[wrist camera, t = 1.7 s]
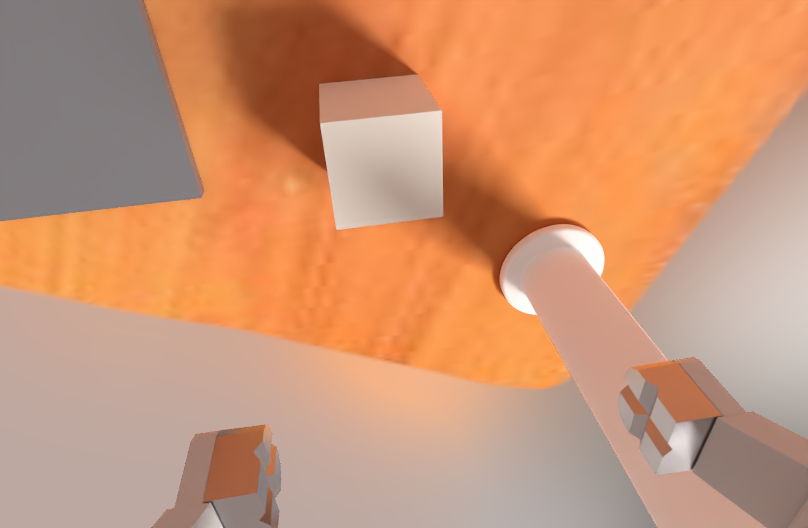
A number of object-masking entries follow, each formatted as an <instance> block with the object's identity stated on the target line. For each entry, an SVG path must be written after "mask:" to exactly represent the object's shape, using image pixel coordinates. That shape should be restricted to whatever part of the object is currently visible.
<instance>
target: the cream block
mask: <svg viewBox="0 0 808 528" xmlns="http://www.w3.org/2000/svg"><path fill="white" fill-rule="evenodd" d="M319 106H320V127H321V134H322V140H323V146H324V153H325V159H326V165H327V172H328V178H329V185H330V191H331V197H332V204H333V210H334V216H335V223H336V229H337V230H339V229H347V228H355V227H363V226H372V225H380V224H388V223H396V222H404V221H412V220H420V219H428V218H436V217H443V156H442V110H441V108H440V107H439V105H438V104H437V102H436V101H435V99H434V98H433V96H432V95H431V93H430V92H429V90H428V89H427V87H426V86H425V85H424V83H423V82H422V80H421V79H420V77H419V76H418V74H415V75H405V76H394V77H384V78H374V79H364V80H353V81H343V82H333V83H323V84H319Z"/></svg>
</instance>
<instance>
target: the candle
mask: <svg viewBox="0 0 808 528" xmlns="http://www.w3.org/2000/svg"><path fill="white" fill-rule="evenodd" d="M603 267H604V252H603V249H602V247H601V245H600V243H599V241H598V240H597V239H596V238H595V237H594V236H593V234H591V233H590V232H589V231H587V230H586V229H584V228H582V227H579V226H575V225H570V224H557V225H551V226H547V227H544V228H541V229H538V230H536V231H534V232H532V233H530V234H529V235H527V236H526V237H524V238H523V239H522V240H520V241H519V242H518V243H517V244H516V245H515V246H514V247H513V248H512V249H511V251H510V252H509V253H508V255H507V256H506V258H505V260H504V262H503V264H502V267H501V271H500V286H501V290H502V292H503V294H504V296H505V298H506V300H507V301H508V302H509V303H510V304H511V305H512V306H513V307H514V308H516V309H517V310H519V311H522V312H524V313H528V314H534V315H537V316H538V317H539V319H540V321H541V323H542V325H543V326H544V328H545V330H546V332H547V333H548V335H549V337H550V339H551V340H552V342H553V344H554V346H555V348H556V349H557V351H558V353H559V355H560V356H561V358H562V360H563V362H564V363H565V365H566V367H567V369H568V371H569V372H570V374H571V376H572V378H573V379H574V381H575V383H576V385H577V386H578V388H579V390H580V392H581V393H582V395H583V397H584V399H585V401H586V402H587V404H588V406H589V408H590V409H591V411H592V413H593V415H594V417H595V418H596V420H597V422H598V424H599V425H600V427H601V429H602V431H603V432H604V434H605V436H606V438H607V440H608V441H609V443H610V445H611V446H612V448H613V450H614V452H615V454H616V456H617V457H618V459H619V461H620V462H621V464H622V466H623V468H624V470H625V471H626V473H627V475H628V477H629V479H630V480H631V482H632V484H633V486H634V487H635V489H636V491H637V493H638V494H639V496H640V498H641V500H642V501H643V503H644V505H645V507H646V509H647V510H648V512H649V514H650V516H651V517H652V519H653V521H654V523H655V525H656V526H657V528H766V527H765V526H764V525H762V524H761V523H759V522H758V521H757V520H755V519H754V518H753V517H751V516H750V515H749V514H747V513H746V512H745V511H743V510H742V509H741V508H739V507H738V506H737V505H735V504H734V503H733V502H731V501H730V500H729V499H727V498H726V497H725V496H723V495H722V494H721V493H719V492H718V491H717V490H715V489H714V488H713V487H711V486H710V485H709V484H707V483H706V482H705V481H703V480H702V479H701V478H699V477H698V476H697V475H695V474H694V473H693V472H692V471H693V470H689V471H682V472H676V473H669V474H662V475H655V474H654V472H653V470H652V469H651V467H650V466H649V464H648V463H647V461H646V459H645V458H644V456H643V455H642V453H641V451H640V450H639V447H640V439H638V438H637V437H635V436H634V435H632V434H630V433H629V432H628V430H627V429H626V427H625V425H624V424H623V422H622V419H621V416H620V414H619V407H618V399H619V394H620V392H621V391H622V390H623V389H624V388H625V387H626V386H627V385H628V384H627V383H626V381H625V380H624V376H625V373H626V371H627V370H628V369H629V368H630V367H634V366H640V365H646V364H652V363H658V362H663V361H668V360H667V359H666V357H665V356H664V355H663V354H662V352H661V351H660V350H659V349H658V347H657V346H656V345H655V344H654V343H653V341H652V340H651V339H650V338H649V336H648V335H647V334H646V333H645V331H644V330H643V329H642V328H641V326H640V325H639V324H638V323H637V321H636V320H635V319H634V318H633V316H632V315H631V314H630V313H629V311H628V310H627V309H626V308H625V306H624V305H623V304H622V303H621V301H620V300H619V299H618V298H617V296H616V295H615V294H614V293H613V292H612V290H611V289H610V288H609V287H608V285H607V284H606V283H605V282H604V280H603V279H602V278H601V277H600V276H601V274H602V271H603Z"/></svg>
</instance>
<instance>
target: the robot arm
mask: <svg viewBox="0 0 808 528" xmlns="http://www.w3.org/2000/svg"><path fill="white" fill-rule="evenodd" d="M624 380H625V381H626V383H627V384H628V385H627V386H626V387H625V388H624V389H623V390H622V391H621V392H620V394H619V399H618V407H619V414H620V416H621V419H622V422H623V424H624V425H625V427H626V429H627V430H628V432H629V433H630V434H632V435H634V436H635V437H637V438H638V439H640V447H639V450H640V451H641V453H642V455H643V456H644V458H645V459H646V461H647V463H648V464H649V466H650V467H651V469H652V470H653V472H654V474H655V475H662V474H669V473H676V472H682V471H689V470H693V471H692V472H693V473H694V474H695V475H697V476H698V477H699V478H701V479H702V480H703V481H705V482H706V483H707V484H709V485H710V486H711V487H713V488H714V489H715V490H717V491H718V492H719V493H721V494H722V495H723V496H725V497H726V498H727V499H729V500H730V501H731V502H733V503H734V504H735V505H737V506H738V507H739V508H741V509H742V510H743V511H745V512H746V513H747V514H749V515H750V516H751V517H753V518H754V519H755V520H757V521H758V522H759V523H761V524H762V525H764V526H765V527H766V528H808V440H807V439H806V438H804V437H802V436H800V435H798V434H796V433H794V432H792V431H790V430H788V429H786V428H784V427H782V426H780V425H778V424H776V423H774V422H772V421H770V420H768V419H766V418H764V417H762V416H760V415H758V414H756V413H754V412H745V410H744V409H743V408H742V407H741V406H740V405H739V404H738V403H737V402H736V400H735V399H734V398H733V397H732V396H731V395H730V394H729V393H728V391H727V390H726V389H725V388H724V387H723V386H722V385H721V384H720V383H719V381H718V380H717V379H716V378H715V377H714V376H713V375H712V374H711V373H710V371H709V370H708V369H707V368H706V367H705V366H704V365H703V364H702V362H701V361H699V360H698V359H696V358H694V357H692V358H685V359H679V360H673V361H663V362H658V363H652V364H646V365H640V366H634V367H630V368H629V369H628V370H627V371H626V373H625V376H624ZM271 441H272V432H271V430H270V427H269V425H259V426H252V427H244V428H236V429H228V430H221V431H214V432H207V433H200V434H195V436H194V437H193V439H192V441H191V443H190V447H189V451H188V455H187V459H186V463H185V467H184V471H183V475H182V479H181V483H180V487H179V492H178V495H177V500H176V503H175V508H172V509H167V510H166V511H165V512H164V514H163V515H162V516H161V517H160V518H159V519H158V521H157V522H156V523H155V524H154V525H153V526H152V527H151V528H278V520H279V509H278V506H277V503H276V501H275V498H276V496H277V495H278V493H279V492H280V490H281V466H280V459H279V454H278V451H277V447H276V446H274V445H272V444H271Z"/></svg>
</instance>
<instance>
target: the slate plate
mask: <svg viewBox="0 0 808 528" xmlns="http://www.w3.org/2000/svg"><path fill="white" fill-rule="evenodd" d="M203 194H204V188H203V185H202V182H201V178H200V175H199V172H198V169H197V166H196V163H195V160H194V157H193V153H192V150H191V147H190V144H189V141H188V138H187V135H186V132H185V128H184V125H183V122H182V119H181V116H180V113H179V110H178V107H177V103H176V100H175V97H174V94H173V91H172V88H171V85H170V82H169V78H168V75H167V72H166V69H165V66H164V63H163V60H162V57H161V53H160V50H159V47H158V44H157V41H156V38H155V35H154V32H153V28H152V25H151V22H150V19H149V16H148V13H147V10H146V7H145V3H144V0H0V221H6V220H14V219H23V218H32V217H40V216H49V215H57V214H66V213H75V212H83V211H92V210H100V209H109V208H118V207H126V206H135V205H143V204H152V203H161V202H169V201H178V200H186V199H195V198H202V196H203Z"/></svg>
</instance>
